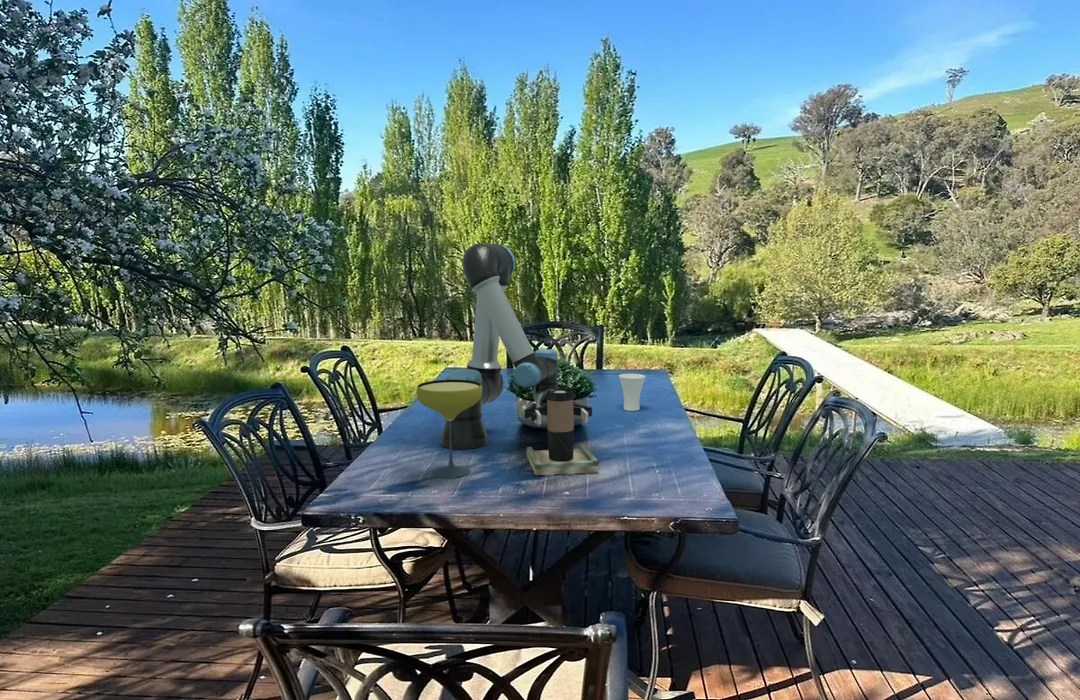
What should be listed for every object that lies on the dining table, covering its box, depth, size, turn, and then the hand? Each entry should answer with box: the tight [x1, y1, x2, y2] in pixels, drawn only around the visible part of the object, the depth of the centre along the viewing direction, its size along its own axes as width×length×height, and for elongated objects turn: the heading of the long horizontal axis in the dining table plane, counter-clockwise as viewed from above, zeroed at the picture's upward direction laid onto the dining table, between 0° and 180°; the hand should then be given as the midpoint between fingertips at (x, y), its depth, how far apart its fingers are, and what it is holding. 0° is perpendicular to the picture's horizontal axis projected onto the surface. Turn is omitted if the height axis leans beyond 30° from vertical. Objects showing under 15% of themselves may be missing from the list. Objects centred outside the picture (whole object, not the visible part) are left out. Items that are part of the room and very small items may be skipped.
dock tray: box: [526, 444, 600, 476], centre depth 201 cm, size 18×18×3 cm
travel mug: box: [546, 387, 575, 461], centre depth 199 cm, size 8×8×20 cm
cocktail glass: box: [416, 379, 482, 479], centre depth 193 cm, size 18×18×25 cm
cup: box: [618, 373, 646, 412], centre depth 273 cm, size 10×10×14 cm
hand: (563, 418), depth 196 cm, fingers open, 13 cm apart
